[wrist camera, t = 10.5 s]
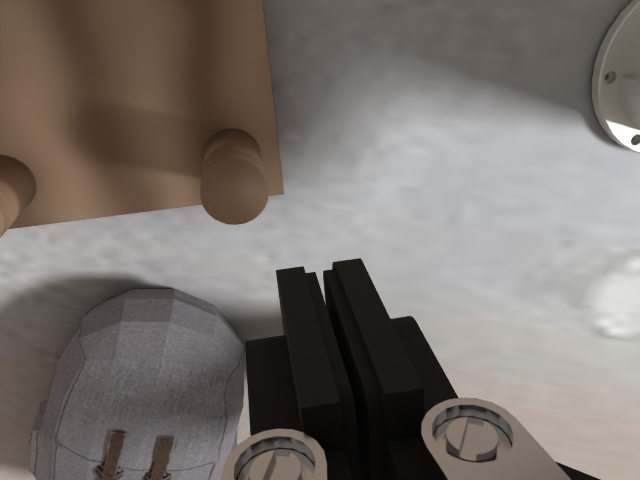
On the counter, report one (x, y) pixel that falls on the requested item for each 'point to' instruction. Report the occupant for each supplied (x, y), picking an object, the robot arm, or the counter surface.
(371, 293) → the robot arm
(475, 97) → the counter surface
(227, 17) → the wooden peg stand
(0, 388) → the counter surface
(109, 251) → the counter surface
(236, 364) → the small grey backpack
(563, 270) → the counter surface
